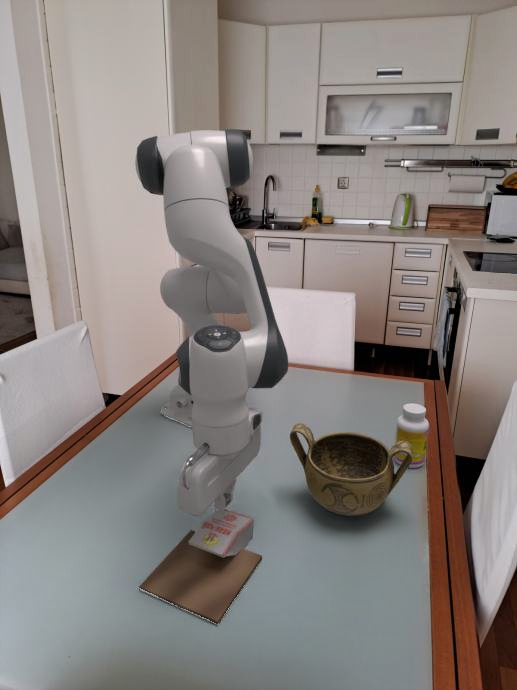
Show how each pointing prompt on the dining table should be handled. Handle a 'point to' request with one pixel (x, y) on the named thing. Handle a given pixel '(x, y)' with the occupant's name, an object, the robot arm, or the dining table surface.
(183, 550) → the walnut board
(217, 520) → the white red-printed box
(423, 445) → the supplement bottle
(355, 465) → the ceramic bowl
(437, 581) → the dining table surface
